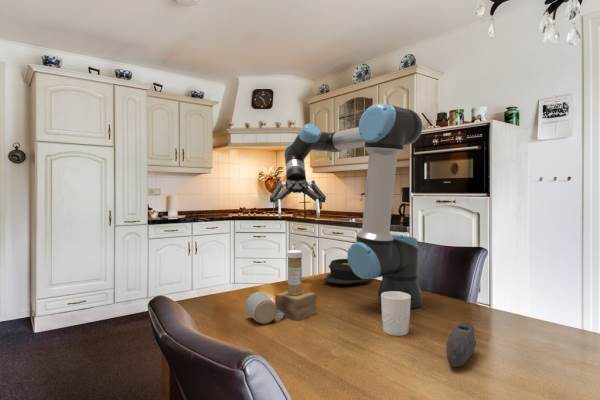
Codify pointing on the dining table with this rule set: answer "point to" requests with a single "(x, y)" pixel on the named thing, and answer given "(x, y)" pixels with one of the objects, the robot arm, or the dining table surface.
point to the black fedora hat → (342, 273)
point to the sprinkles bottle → (294, 272)
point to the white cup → (395, 312)
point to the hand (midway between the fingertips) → (299, 215)
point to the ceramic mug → (262, 308)
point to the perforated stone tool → (460, 344)
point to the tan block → (296, 305)
